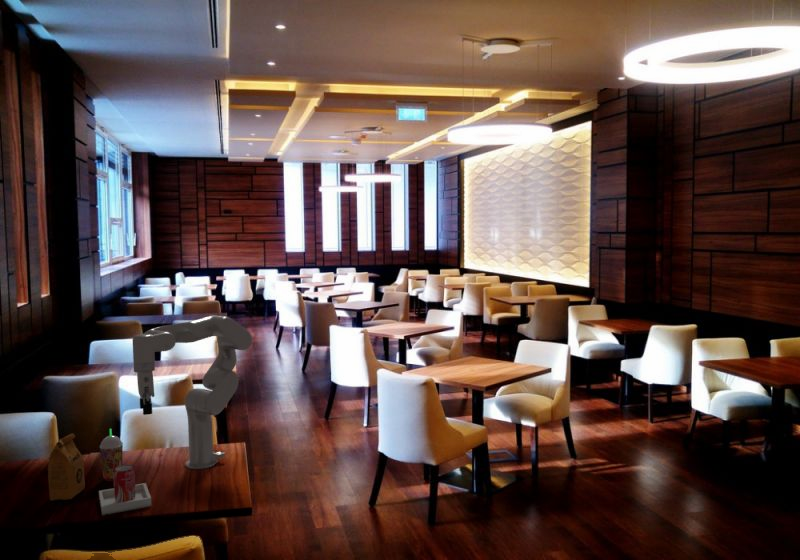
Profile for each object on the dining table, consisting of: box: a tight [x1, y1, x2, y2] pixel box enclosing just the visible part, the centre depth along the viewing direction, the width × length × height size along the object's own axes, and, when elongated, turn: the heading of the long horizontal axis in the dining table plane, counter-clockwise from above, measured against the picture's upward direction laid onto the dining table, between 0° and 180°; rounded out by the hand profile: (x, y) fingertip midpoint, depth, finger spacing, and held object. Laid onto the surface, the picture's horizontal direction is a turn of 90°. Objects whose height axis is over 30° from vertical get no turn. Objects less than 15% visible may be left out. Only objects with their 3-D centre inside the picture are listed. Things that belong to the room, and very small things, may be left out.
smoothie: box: [99, 428, 124, 482], centre depth 268 cm, size 8×8×20 cm
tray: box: [98, 482, 152, 516], centre depth 245 cm, size 16×16×3 cm
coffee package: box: [47, 433, 86, 502], centre depth 252 cm, size 10×12×22 cm
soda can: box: [113, 464, 136, 503], centre depth 245 cm, size 7×7×12 cm
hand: (146, 411), depth 261 cm, fingers open, 9 cm apart
